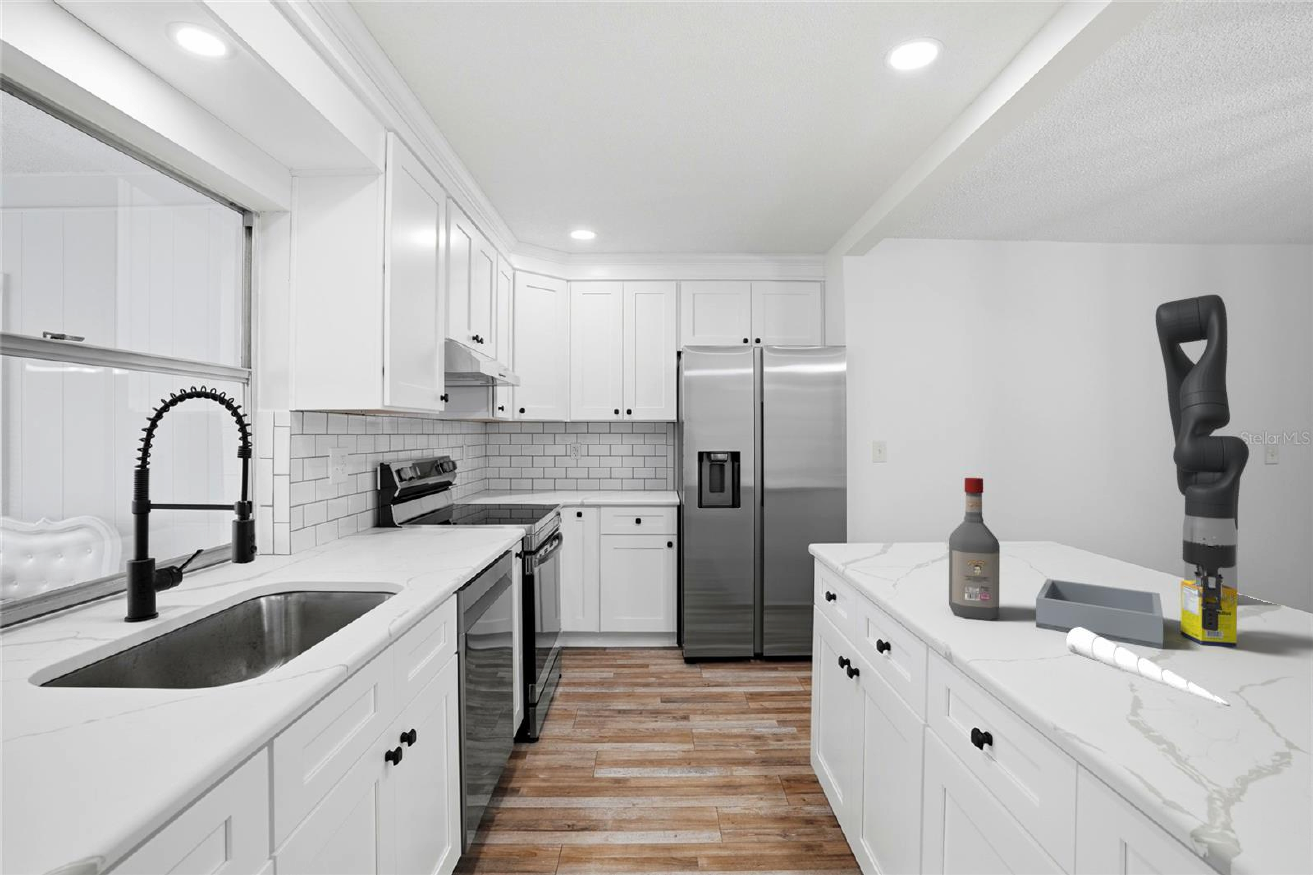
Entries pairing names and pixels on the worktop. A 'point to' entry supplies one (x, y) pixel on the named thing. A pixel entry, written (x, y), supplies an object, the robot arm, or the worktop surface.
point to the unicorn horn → (1129, 662)
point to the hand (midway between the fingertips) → (1207, 624)
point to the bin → (1101, 612)
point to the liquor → (974, 561)
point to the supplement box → (1193, 616)
